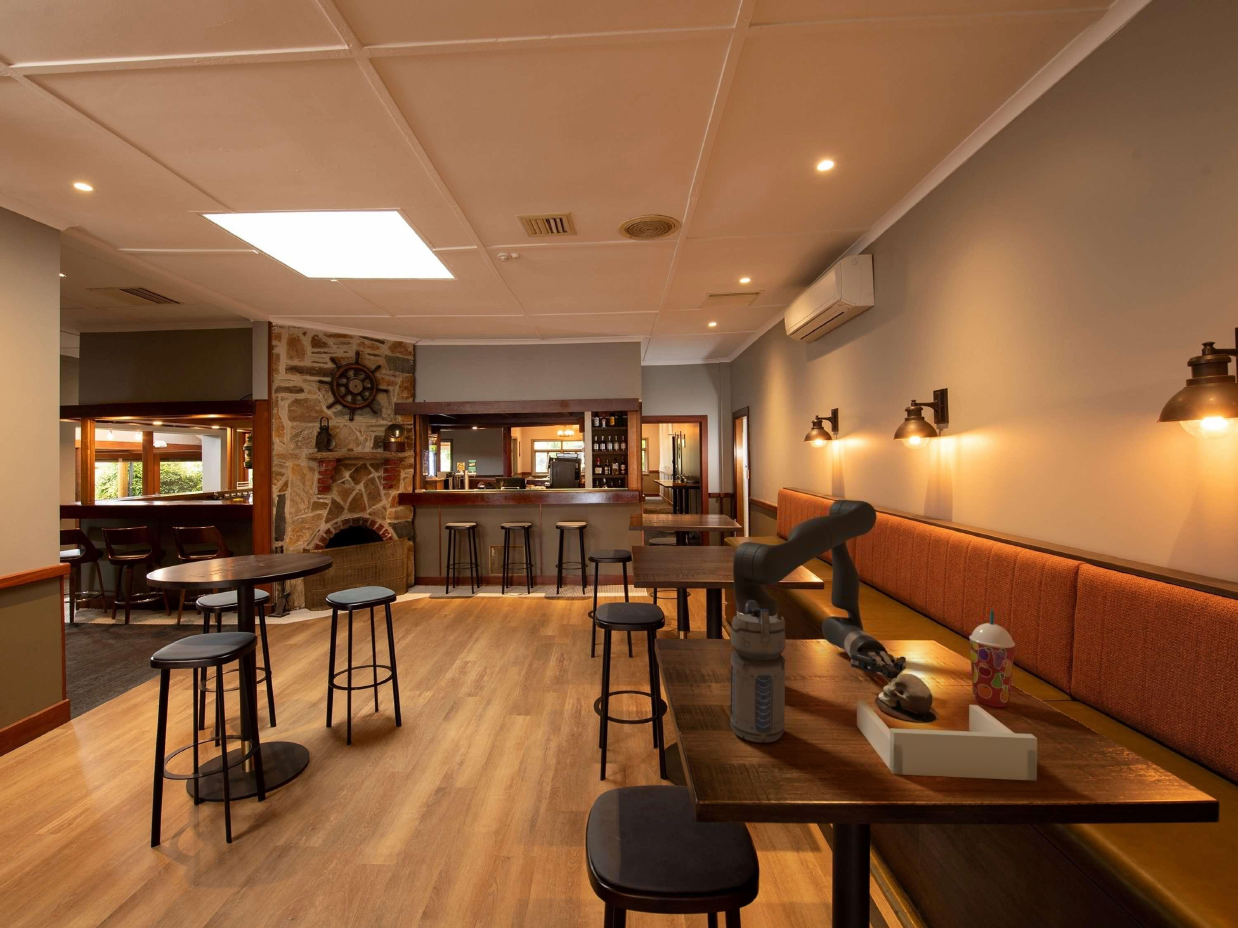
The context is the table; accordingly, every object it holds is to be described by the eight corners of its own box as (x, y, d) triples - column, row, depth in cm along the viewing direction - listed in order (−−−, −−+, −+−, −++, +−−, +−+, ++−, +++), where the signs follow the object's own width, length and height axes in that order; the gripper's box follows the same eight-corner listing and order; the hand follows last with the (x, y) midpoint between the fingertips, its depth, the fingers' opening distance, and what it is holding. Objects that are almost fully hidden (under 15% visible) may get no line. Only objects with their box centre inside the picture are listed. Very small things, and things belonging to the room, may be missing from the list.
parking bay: (893, 773, 95) (893, 732, 95) (856, 725, 113) (857, 690, 113) (1036, 780, 94) (1037, 738, 93) (977, 730, 111) (977, 694, 111)
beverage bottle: (772, 715, 117) (773, 594, 117) (792, 748, 103) (794, 611, 103) (723, 715, 117) (724, 594, 116) (737, 747, 103) (738, 611, 103)
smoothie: (1000, 695, 128) (1001, 607, 128) (1022, 711, 120) (1024, 617, 120) (961, 693, 129) (962, 605, 129) (981, 709, 120) (982, 615, 120)
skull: (859, 701, 121) (878, 660, 125) (881, 725, 125) (899, 684, 129) (914, 721, 111) (932, 675, 115) (936, 747, 115) (953, 702, 119)
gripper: (837, 633, 140) (863, 657, 123) (892, 635, 139) (925, 659, 122) (837, 664, 140) (862, 692, 123) (892, 665, 139) (925, 694, 122)
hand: (894, 675), depth 123 cm, fingers closed
